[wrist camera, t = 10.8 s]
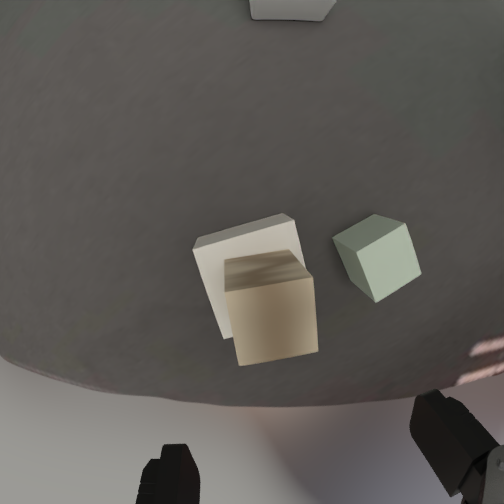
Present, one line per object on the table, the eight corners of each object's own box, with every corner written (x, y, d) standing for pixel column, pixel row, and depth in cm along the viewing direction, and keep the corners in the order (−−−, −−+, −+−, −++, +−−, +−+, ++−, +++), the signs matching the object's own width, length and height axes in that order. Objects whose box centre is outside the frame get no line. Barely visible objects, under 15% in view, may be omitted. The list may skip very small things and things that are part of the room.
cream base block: (282, 212, 29) (294, 220, 24) (302, 291, 31) (315, 312, 26) (197, 237, 29) (192, 249, 24) (223, 314, 30) (223, 339, 26)
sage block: (373, 213, 29) (405, 223, 23) (390, 256, 30) (421, 273, 25) (331, 237, 29) (356, 252, 24) (350, 280, 31) (375, 302, 25)
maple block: (288, 249, 24) (312, 277, 18) (295, 307, 26) (318, 351, 19) (224, 259, 24) (224, 292, 17) (234, 318, 25) (239, 366, 18)
